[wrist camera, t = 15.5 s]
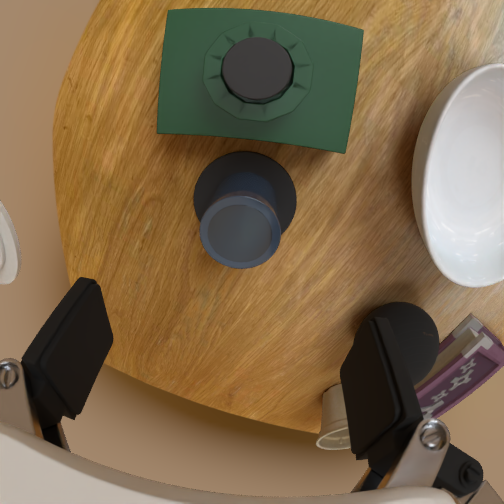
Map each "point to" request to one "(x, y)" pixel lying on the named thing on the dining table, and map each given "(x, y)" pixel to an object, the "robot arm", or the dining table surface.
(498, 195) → the serving bowl
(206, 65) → the green base stand
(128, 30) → the dining table surface
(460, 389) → the book
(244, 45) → the dark grey short cylinder
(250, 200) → the tumbler
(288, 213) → the coaster
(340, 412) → the flower pot
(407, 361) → the speaker
